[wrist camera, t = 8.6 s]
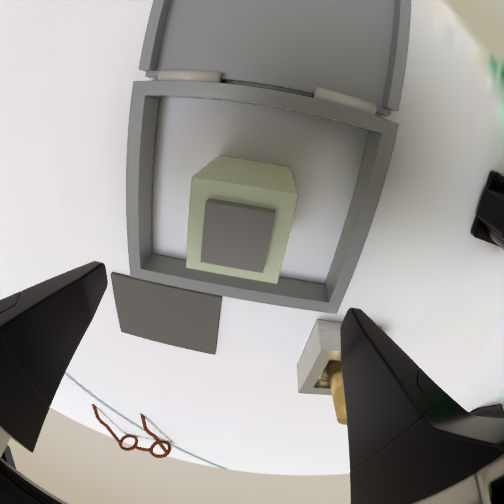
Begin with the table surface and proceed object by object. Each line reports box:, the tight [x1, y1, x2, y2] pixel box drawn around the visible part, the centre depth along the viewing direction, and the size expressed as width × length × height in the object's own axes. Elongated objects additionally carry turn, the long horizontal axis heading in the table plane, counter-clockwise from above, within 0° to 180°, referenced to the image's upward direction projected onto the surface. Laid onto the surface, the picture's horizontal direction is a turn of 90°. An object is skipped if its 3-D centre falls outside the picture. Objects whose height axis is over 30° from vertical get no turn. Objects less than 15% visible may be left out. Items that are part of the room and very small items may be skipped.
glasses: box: [92, 404, 171, 458], centre depth 41 cm, size 13×13×5 cm
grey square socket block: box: [297, 320, 381, 395], centre depth 25 cm, size 7×7×4 cm
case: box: [126, 0, 411, 314], centre depth 15 cm, size 17×30×2 cm, turn 171°
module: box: [186, 156, 298, 284], centre depth 16 cm, size 5×5×8 cm
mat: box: [111, 272, 222, 355], centre depth 26 cm, size 11×8×1 cm
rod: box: [326, 359, 347, 425], centre depth 22 cm, size 4×4×8 cm
